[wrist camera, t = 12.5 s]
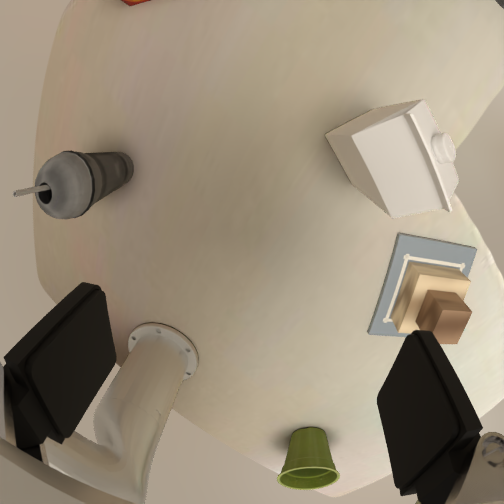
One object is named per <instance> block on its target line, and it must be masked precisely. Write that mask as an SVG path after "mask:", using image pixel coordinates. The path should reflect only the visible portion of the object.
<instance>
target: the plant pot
mask: <svg viewBox="0 0 504 504" xmlns="http://www.w3.org/2000/svg"><path fill="white" fill-rule="evenodd" d="M339 478H340V474H339V472H338V471H337V470H336V468H335V465H334V463H333V460H332V457H331V453H330V449H329V445H328V441H327V437H326V434H325V432H324V431H323V430H321V429H319V428H314V427H309V428H306V429H299V430H297V431H295V432H294V433H293V434H292V436H291V440H290V444H289V448H288V452H287V456H286V460H285V464H284V466H283V468H282V471H281V473H280V474H279V475H278V477H277V481H278V483H280V484H281V485H282V486H285V487H288V488H292V489H298V490H310V489H318V488H323V487H326V486H329V485H331V484H333V483H335V482H336V481H337V480H338V479H339Z"/></svg>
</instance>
